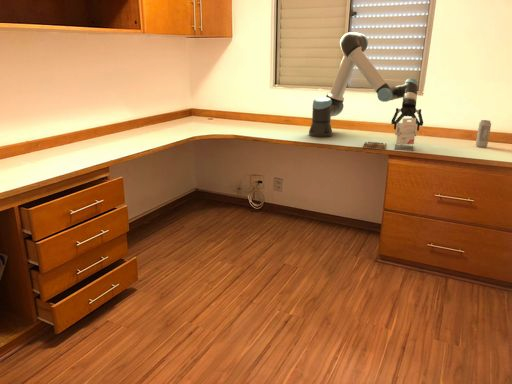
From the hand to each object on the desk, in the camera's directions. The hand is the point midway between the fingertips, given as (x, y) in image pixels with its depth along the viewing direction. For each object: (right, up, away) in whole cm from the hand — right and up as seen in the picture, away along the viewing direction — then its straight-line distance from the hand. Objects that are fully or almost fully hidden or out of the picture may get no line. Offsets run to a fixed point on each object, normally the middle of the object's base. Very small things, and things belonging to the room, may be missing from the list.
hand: (405, 134), depth 236 cm
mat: (+1, -7, +5) cm, 9 cm away
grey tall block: (+47, -6, +9) cm, 48 cm away
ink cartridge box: (+1, -5, +5) cm, 7 cm away
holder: (-14, -5, +10) cm, 18 cm away
